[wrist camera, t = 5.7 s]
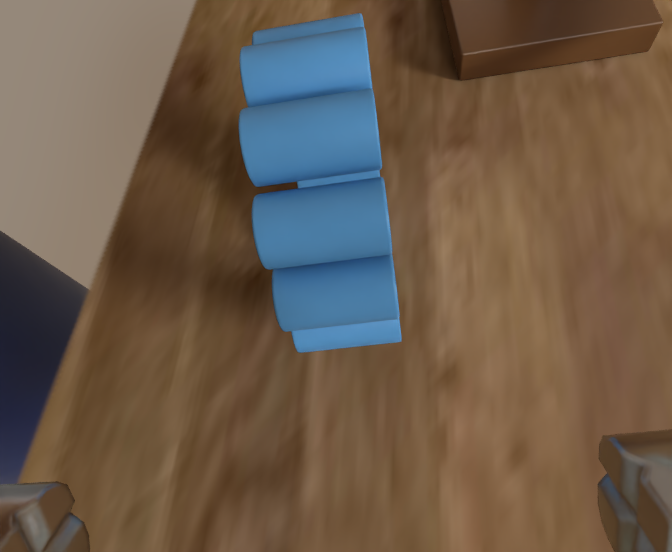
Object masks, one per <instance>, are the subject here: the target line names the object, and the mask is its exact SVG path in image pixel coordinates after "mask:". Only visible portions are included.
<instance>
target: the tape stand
mask: <svg viewBox="0 0 672 552" xmlns="http://www.w3.org/2000/svg"><path fill="white" fill-rule="evenodd" d="M441 4H442V8H443V13H444V17H445V21H446V26H447V30H448V34H449V39H450V43H451V47H452V52H453V56H454V61H455V65H456V69H457V74H458V78H459V80H467V79H474V78H480V77H486V76H493V75H499V74H506V73H512V72H518V71H525V70H531V69H538V68H544V67H550V66H557V65H563V64H570V63H576V62H582V61H589V60H595V59H602V58H608V57H614V56H621V55H627V54H634V53H640V52H646V51H649V49H650V47H651V45H652V43H653V41H654V40H655V38H656V36H657V34H658V32H659V30H660V28H661V26H662V24H663V20H662V18H661V16H660V14H659V12H658V10H657V8H656V6H655V4H654V2H653V0H441Z"/></svg>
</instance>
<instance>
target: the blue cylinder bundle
mask: <svg viewBox="0 0 672 552" xmlns="http://www.w3.org/2000/svg"><path fill="white" fill-rule="evenodd" d="M240 73H241V80H242V85H243V90H244V94H245V98H246V102H247V105H248V108H244V109H242V110H241V112H240V115H239V139H240V146H241V151H242V156H243V160H244V164H245V167H246V170H247V173H248V175H249V178H250V180H251V181H252V183H253V184H254V185H255V186H257V187H262V186H269V185H276V184H283V183H290V182H297V186H298V189H291V190H283V191H276V192H269V193H262V194H258V195H256V196H255V197H254V199H253V204H252V228H253V235H254V241H255V245H256V249H257V253H258V256H259V258H260V261H261V263H262V265H263V266H264V268H266V269H268V270H271V269H273V274H272V295H273V303H274V309H275V314H276V317H277V321H278V323H279V325H280V327H281V329H282V330H283V331H285V332H288V331H291V332H292V337H293V342H294V345H295V347H296V350H297V351H298V352H300V353H302V352H312V351H321V350H330V349H339V348H349V347H358V346H367V345H377V344H386V343H395V342H401V340H402V339H401V329H400V321H399V316H400V315H399V304H398V296H397V287H396V279H395V271H394V264H393V256H392V241H391V231H390V223H389V214H388V206H387V198H386V191H385V184H384V179H383V178H382V177H380V171H379V170H380V169H382V159H381V149H380V140H379V131H378V123H377V115H376V107H375V99H374V92H373V90H372V80H371V72H370V63H369V54H368V46H367V39H366V31H365V28H364V23H363V16H362V14H360V13H357V14H352V15H346V16H340V17H334V18H328V19H323V20H317V21H311V22H305V23H299V24H294V25H288V26H282V27H276V28H270V29H265V30H259V31H255V32H254V33H253V37H252V45H250V46H244V47H243V48H241V51H240Z"/></svg>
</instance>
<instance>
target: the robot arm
mask: <svg viewBox="0 0 672 552" xmlns="http://www.w3.org/2000/svg"><path fill="white" fill-rule="evenodd" d="M599 460H600V462H601V464H602V465H603V467H604V468H605V470H606V472H607V474H606V475H605V476H604V477H603V478H602V479H601V481H600V482H599V483H598V506H599V511H600V516H601V521H602V524H603V527H604V530H605V532H606V535H607V538H608V540H609V542H610V544H611V546H612V548H613V549H614V551H615V552H672V429H670V430H659V431H648V432H636V433H625V434H614V435H603V436H602V439H601V441H600V444H599ZM74 502H75V500H74V497H73V495H72V493H71V491H70V489H69V487H68V485H67V484H64V483H61V482H57V481H56V482H39V483H22V484H6V485H0V552H90V542H89V534H88V531H87V529H86V526H85V524H84V522H83V521H81V520H80V519H79V518H77V517H76V516H75V515H73V514H72V513H71V510H72V507H73V505H74Z"/></svg>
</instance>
